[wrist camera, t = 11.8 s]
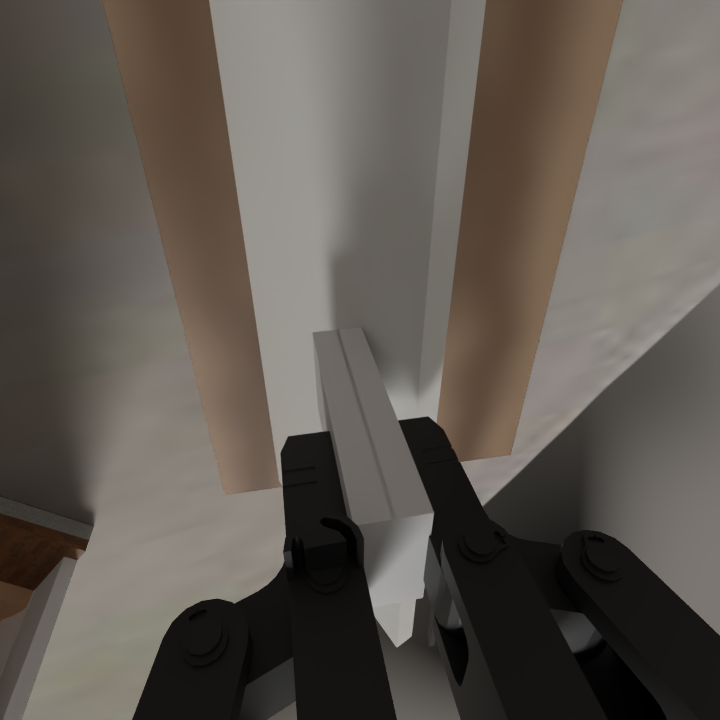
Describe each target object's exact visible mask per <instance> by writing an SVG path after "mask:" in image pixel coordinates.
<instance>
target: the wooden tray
mask: <svg viewBox="0 0 720 720" xmlns="http://www.w3.org/2000/svg"><path fill="white" fill-rule="evenodd" d="M102 1H103V5H104V9H105V13H106V17H107V21H108V25H109V29H110V33H111V37H112V41H113V45H114V49H115V53H116V57H117V61H118V65H119V70H120V74H121V78H122V82H123V86H124V90H125V94H126V98H127V102H128V106H129V110H130V114H131V118H132V122H133V126H134V130H135V134H136V138H137V142H138V146H139V150H140V154H141V159H142V163H143V167H144V171H145V175H146V179H147V183H148V187H149V191H150V195H151V199H152V203H153V207H154V211H155V215H156V219H157V223H158V227H159V231H160V235H161V239H162V243H163V247H164V252H165V256H166V260H167V264H168V268H169V272H170V276H171V280H172V284H173V288H174V292H175V296H176V300H177V304H178V308H179V312H180V316H181V320H182V324H183V328H184V332H185V336H186V341H187V345H188V349H189V353H190V357H191V361H192V365H193V369H194V373H195V377H196V381H197V385H198V389H199V393H200V397H201V401H202V405H203V409H204V413H205V417H206V421H207V425H208V429H209V434H210V438H211V442H212V446H213V450H214V454H215V458H216V462H217V466H218V470H219V474H220V478H221V482H222V486H223V490H224V494H225V495H228V494H235V493H242V492H249V491H256V490H264V489H271V488H278V487H283V486H282V484H281V483H280V482H279V476H278V469H277V463H276V456H275V449H274V442H273V435H272V428H271V421H270V415H269V408H268V401H267V394H266V387H265V380H264V373H263V367H262V360H261V353H260V346H259V339H258V332H257V325H256V319H255V312H254V305H253V298H252V291H251V284H250V278H249V271H248V264H247V257H246V250H245V243H244V236H243V230H242V223H241V216H240V209H239V202H238V195H237V188H236V182H235V175H234V168H233V161H232V154H231V147H230V140H229V134H228V127H227V120H226V113H225V106H224V99H223V92H222V86H221V79H220V72H219V65H218V58H217V51H216V45H215V38H214V31H213V24H212V17H211V10H210V3H209V0H102ZM622 3H623V0H486V6H485V14H484V23H483V31H482V40H481V48H480V57H479V65H478V74H477V82H476V91H475V99H474V108H473V116H472V125H471V133H470V142H469V150H468V159H467V168H466V176H465V185H464V193H463V202H462V210H461V219H460V227H459V236H458V244H457V253H456V261H455V270H454V278H453V287H452V295H451V304H450V312H449V321H448V329H447V338H446V347H445V355H444V364H443V372H442V381H441V389H440V398H439V406H438V415H437V424H438V425H439V426H440V427H441V428H443V429H444V431H445V433H446V435H447V437H448V439H449V441H450V443H451V445H452V449H454V451H455V453H456V455H457V457H458V461H459V462H463V461H470V460H477V459H484V458H491V457H498V456H506V455H511V451H512V447H513V443H514V439H515V435H516V431H517V427H518V423H519V419H520V415H521V411H522V407H523V403H524V399H525V395H526V391H527V387H528V383H529V379H530V375H531V370H532V366H533V362H534V358H535V354H536V350H537V346H538V342H539V338H540V334H541V330H542V326H543V322H544V318H545V314H546V310H547V306H548V302H549V298H550V294H551V290H552V286H553V282H554V278H555V274H556V269H557V265H558V261H559V257H560V253H561V249H562V245H563V241H564V237H565V233H566V229H567V225H568V221H569V217H570V213H571V209H572V205H573V201H574V197H575V193H576V189H577V185H578V181H579V177H580V172H581V168H582V164H583V160H584V156H585V152H586V148H587V144H588V140H589V136H590V132H591V128H592V124H593V120H594V116H595V112H596V108H597V104H598V100H599V96H600V92H601V88H602V84H603V80H604V76H605V71H606V67H607V63H608V59H609V55H610V51H611V47H612V43H613V39H614V35H615V31H616V27H617V23H618V19H619V15H620V11H621V7H622Z"/></svg>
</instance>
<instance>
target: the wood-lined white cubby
mask: <svg viewBox="0 0 720 720" xmlns="http://www.w3.org/2000/svg"><path fill="white" fill-rule="evenodd" d="M93 527H94V526H91V525H88V524H85V523H82V522H79V521H76V520H73V519H69V518H66V517H63V516H60V515H57V514H54V513H51V512H47V511H44V510H41V509H38V508H35V507H32V506H29V505H26V504H22V503H19V502H16V501H13V500H10V499H7V498H4V497H0V720H22V717H23V714H24V711H25V708H26V706H27V703H28V700H29V697H30V694H31V691H32V688H33V685H34V683H35V680H36V677H37V674H38V671H39V668H40V665H41V663H42V660H43V657H44V654H45V651H46V648H47V645H48V642H49V640H50V637H51V634H52V631H53V628H54V625H55V622H56V620H57V617H58V614H59V611H60V608H61V605H62V602H63V599H64V597H65V594H66V591H67V588H68V585H69V582H70V579H71V577H72V574H73V571H74V568H75V565H76V562H77V560H78V559H79V558H80V557H81V555H82V554H83V553H84V552H85V551H86V548H87V545H88V542H89V539H90V536H91V533H92V530H93Z"/></svg>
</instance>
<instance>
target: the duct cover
mask: <svg viewBox="0 0 720 720" xmlns="http://www.w3.org/2000/svg"><path fill="white" fill-rule="evenodd" d="M209 3H210V10H211V17H212V24H213V31H214V38H215V45H216V51H217V58H218V65H219V72H220V79H221V86H222V92H223V99H224V106H225V113H226V120H227V127H228V134H229V140H230V147H231V154H232V161H233V168H234V175H235V182H236V188H237V195H238V202H239V209H240V216H241V223H242V230H243V236H244V243H245V250H246V257H247V264H248V271H249V278H250V284H251V291H252V298H253V305H254V312H255V319H256V325H257V332H258V339H259V346H260V353H261V360H262V367H263V373H264V380H265V387H266V394H267V401H268V408H269V415H270V421H271V428H272V435H273V442H274V449H275V456H276V463H277V469H278V476H279V482H280V483H281V484H282V470H281V456H280V453H281V450H282V448H283V446H284V444H285V442H286V440H287V437H288V436H294V435H301V434H309V433H316V432H322V427H321V422H320V417H319V411H318V404H317V390H316V376H315V362H314V347H313V333H312V332H320V331H330V330H340V329H350V328H360V327H362V330H363V332H364V335H365V338H366V340H367V343H368V345H369V348H370V350H371V353H372V355H373V358H374V361H375V363H376V366H377V368H378V371H379V373H380V376H381V378H382V381H383V384H384V386H385V389H386V391H387V394H388V396H389V399H390V401H391V404H392V407H393V409H394V412H395V414H396V417H397V419H398V420H405V419H412V418H420V417H427V416H429V417H430V418H431V419H432V420H433V421H434V422H436V423H437V415H438V406H439V398H440V389H441V381H442V372H443V364H444V355H445V347H446V338H447V329H448V321H449V312H450V304H451V295H452V287H453V278H454V270H455V261H456V253H457V244H458V236H459V227H460V219H461V210H462V202H463V193H464V185H465V176H466V168H467V159H468V150H469V142H470V133H471V125H472V116H473V108H474V99H475V91H476V82H477V74H478V65H479V57H480V48H481V40H482V31H483V23H484V14H485V6H486V0H209ZM282 486H283V484H282ZM415 602H416V599H414V600H409V601H404V602H399V603H394V604H389V605H383V606H378V607H373V612H374V616H375V617H376V619H377V620H378V622H379V623H380V625H381V626H382V627H383V629H384V630H385V632H386V633H387V634H388V636H389V637H390V638H391V640H392V642H393V643H394V644H395V646H396V647H398V646H400V645H401V644H402V643H403V642H405V641H406V640H407V639H408V638H410V637H411V636H412V627H413V619H414V611H415Z"/></svg>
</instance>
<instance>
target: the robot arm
mask: <svg viewBox="0 0 720 720" xmlns="http://www.w3.org/2000/svg"><path fill="white" fill-rule="evenodd" d="M312 333H313V347H314V362H315V376H316V390H317V404H318V411H319V417H320V422H321V427H322V432H316V433H309V434H301V435H294V436H288V437H287V440H286V442H285V444H284V446H283V448H282V450H281V453H280V456H281V470H282V484H283V498H284V512H285V526H286V538H285V544H284V550H283V554H284V560H285V561H284V564H283V566H282V568H281V570H280V571H279V573H278V574H277V576H276V577H275V578H274V579H273V580H272V581H271V582H270V583H269V584H268V585H267V586H265V587H264V588H262V589H261V590H259V591H258V592H256V593H254V594H252V595H250V596H248V597H246V598H244V599H242V600H241V601H239V602H237V603H235V604H234V603H232V602H229V601H225V600H221V599H212V600H205V601H201V602H199V603H197V604H195V605H193V606H191V607H189V608H187V609H185V610H184V611H183V612H182V613H181V614H180V615H179V616H178V617H177V618H176V619H175V620H174V621H173V622H172V624H171V625H170V627H169V629H168V631H167V632H166V634H165V636H164V638H163V640H162V642H161V645H160V648H159V650H158V653H157V656H156V658H155V661H154V663H153V666H152V669H151V671H150V674H149V677H148V679H147V682H146V685H145V687H144V690H143V693H142V695H141V698H140V700H139V703H138V706H137V708H136V711H135V714H134V716H133V719H132V720H267V719H269V718H270V717H272V716H273V715H275V714H276V713H278V712H279V711H281V710H282V709H284V708H285V707H287V706H288V705H290V704H291V703H293V702H295V701H296V709H297V720H397V718H396V714H395V709H394V704H393V700H392V696H391V691H390V686H389V681H388V677H387V672H386V667H385V664H384V658H383V653H382V649H381V644H380V640H379V635H378V630H377V625H376V621H375V616H374V612H373V607H378V606H383V605H389V604H394V603H399V602H404V601H409V600H414V599H419V598H423V593H424V586H425V587H426V590H427V593H428V596H429V599H430V602H431V605H432V610H431V617H430V623H429V630H428V640H429V646H434V644H435V639H436V641H437V644H438V647H439V651H440V654H441V657H442V661H443V664H444V667H445V670H446V673H447V676H448V680H449V683H450V686H451V690H452V693H453V696H454V699H455V703H456V706H457V709H458V712H459V715H460V719H461V720H720V636H719V634H717V633H716V632H715V631H714V630H713V629H712V628H711V627H710V626H709V625H708V624H707V623H706V622H705V621H704V620H703V619H702V618H701V617H700V616H699V615H697V613H695V612H694V611H693V610H692V609H691V608H690V607H689V606H688V605H687V604H686V603H685V602H684V601H683V600H682V599H681V598H680V597H678V595H677V594H676V593H675V592H673V591H672V590H671V589H670V588H669V587H668V586H667V585H666V584H665V583H664V582H663V581H662V580H661V579H660V578H659V577H658V576H657V575H656V574H655V573H653V571H651V570H650V569H649V568H648V567H647V566H646V565H645V564H644V563H643V562H642V561H641V560H640V559H639V558H638V557H637V556H636V555H635V554H634V553H633V552H631V550H629V549H628V548H627V547H626V546H624V545H623V544H622V543H620V542H619V541H618V540H616V539H615V538H613V537H611V536H608V535H606V534H604V533H601V532H598V531H589V530H582V531H577V532H573V533H571V534H570V535H569V536H568V537H567V538H566V539H565V540H564V542H563V544H562V545H558V544H549V543H542V542H535V541H528V540H524V539H519V538H517V537H514V536H512V535H509V534H508V533H507V532H506V531H505V529H504V528H502V527H501V526H500V525H498V524H497V523H495V522H494V521H492V520H490V519H489V517H488V516H487V514H486V513H485V511H484V509H483V507H482V505H481V503H480V501H479V499H478V497H477V495H476V493H475V491H474V489H473V487H472V485H471V483H470V481H469V479H468V477H467V475H466V473H465V471H464V469H463V467H462V465H461V463H460V462H459V461H458V457H457V455H456V453H455V451H454V449H452V445H451V443H450V441H449V439H448V437H447V435H446V433H445V431H444V429H443V428H441V427H440V426H439V425H438V424H437V423H436V422H434V421H433V420H432V419H431V418H430V417H429V416H427V417H420V418H412V419H405V420H398V419H397V417H396V414H395V412H394V409H393V407H392V404H391V401H390V399H389V396H388V394H387V391H386V389H385V386H384V384H383V381H382V378H381V376H380V373H379V371H378V368H377V366H376V363H375V361H374V358H373V355H372V353H371V350H370V348H369V345H368V343H367V340H366V338H365V335H364V332H363V330H362V327H360V328H350V329H340V330H330V331H320V332H312Z"/></svg>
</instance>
